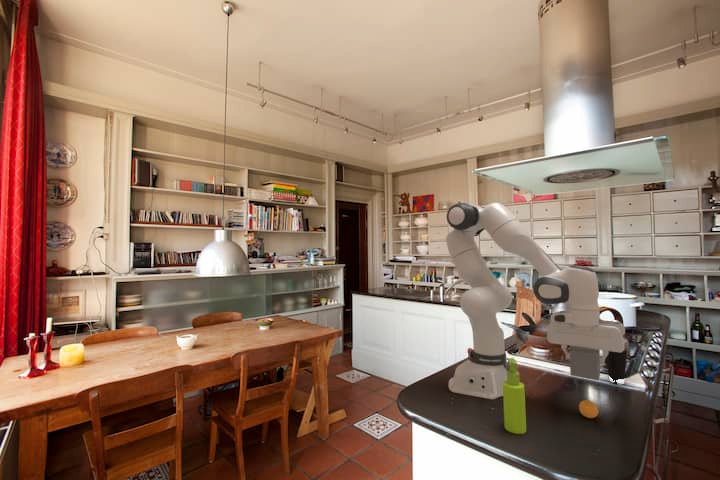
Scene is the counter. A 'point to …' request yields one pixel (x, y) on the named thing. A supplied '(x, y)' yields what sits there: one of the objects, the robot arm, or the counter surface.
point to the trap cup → (584, 362)
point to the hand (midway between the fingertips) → (584, 361)
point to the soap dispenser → (514, 401)
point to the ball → (588, 409)
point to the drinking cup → (617, 364)
